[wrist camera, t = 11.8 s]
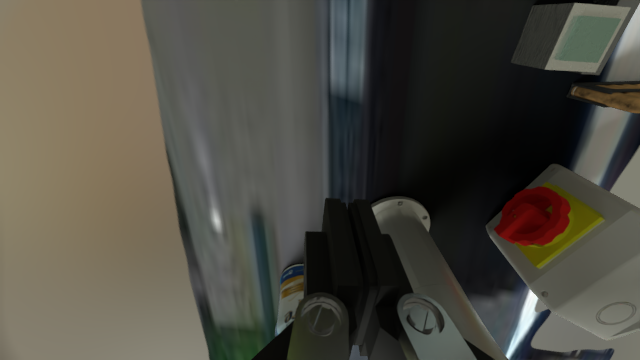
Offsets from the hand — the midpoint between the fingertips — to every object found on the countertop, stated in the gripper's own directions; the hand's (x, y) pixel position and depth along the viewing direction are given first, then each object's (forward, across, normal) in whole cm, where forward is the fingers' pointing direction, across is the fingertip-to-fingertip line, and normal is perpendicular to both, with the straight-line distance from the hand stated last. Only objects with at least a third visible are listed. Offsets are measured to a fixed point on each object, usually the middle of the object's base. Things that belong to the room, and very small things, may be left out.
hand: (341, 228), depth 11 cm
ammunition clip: (+27, -39, -3) cm, 48 cm away
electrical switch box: (+27, -36, +15) cm, 47 cm away
